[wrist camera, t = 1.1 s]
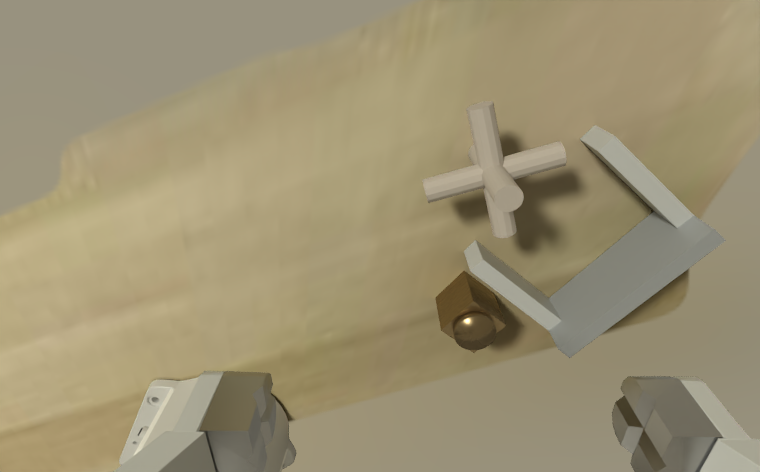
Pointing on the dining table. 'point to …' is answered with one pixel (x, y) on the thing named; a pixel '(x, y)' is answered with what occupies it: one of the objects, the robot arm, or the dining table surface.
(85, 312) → the dining table surface
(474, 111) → the beige crossed rod piece
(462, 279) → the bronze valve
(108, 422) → the dining table surface
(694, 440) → the robot arm
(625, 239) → the socket cradle
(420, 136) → the dining table surface
